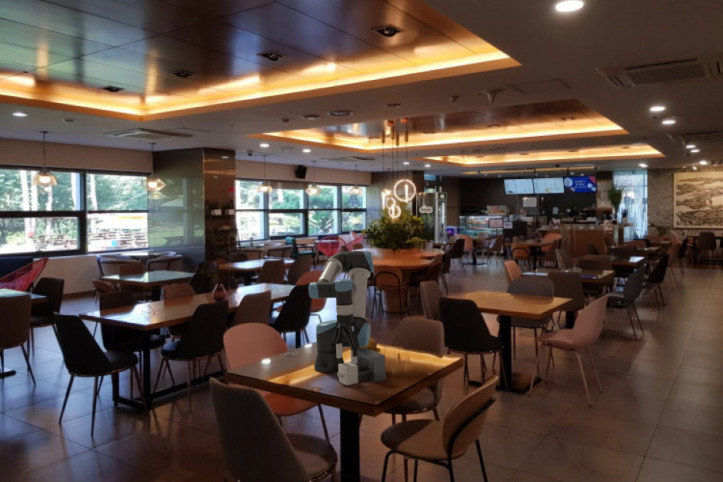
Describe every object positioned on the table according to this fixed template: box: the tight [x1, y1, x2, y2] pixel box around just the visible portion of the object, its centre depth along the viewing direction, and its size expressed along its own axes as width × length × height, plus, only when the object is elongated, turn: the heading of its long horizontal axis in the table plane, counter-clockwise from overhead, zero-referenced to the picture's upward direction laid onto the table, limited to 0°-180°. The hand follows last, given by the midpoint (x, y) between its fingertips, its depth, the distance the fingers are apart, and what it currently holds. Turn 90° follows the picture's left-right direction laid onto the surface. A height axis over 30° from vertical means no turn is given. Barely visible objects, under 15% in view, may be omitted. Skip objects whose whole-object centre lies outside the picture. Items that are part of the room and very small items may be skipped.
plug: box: [336, 361, 387, 386], centre depth 249 cm, size 7×24×8 cm, turn 121°
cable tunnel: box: [356, 348, 387, 384], centre depth 251 cm, size 17×6×12 cm, turn 31°
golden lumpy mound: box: [357, 337, 378, 351], centre depth 304 cm, size 14×16×8 cm
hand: (346, 360), depth 244 cm, fingers open, 13 cm apart
